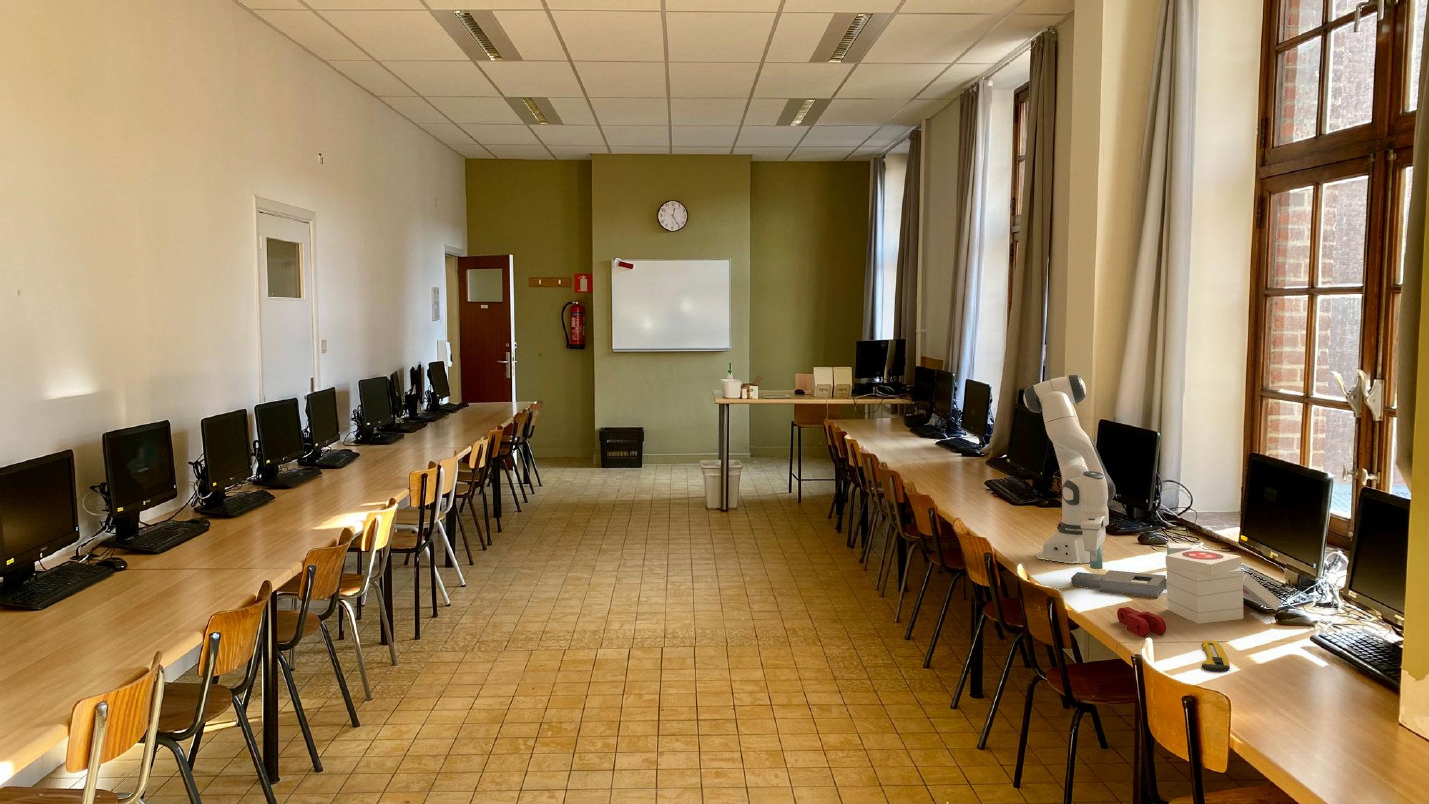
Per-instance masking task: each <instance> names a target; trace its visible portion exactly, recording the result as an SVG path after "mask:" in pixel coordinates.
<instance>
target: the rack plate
mask: <svg viewBox="0 0 1429 804" xmlns="http://www.w3.org/2000/svg"><path fill="white" fill-rule="evenodd" d="M1070 582H1071V587H1075V586H1082V587H1081V588H1084V587H1088V588H1087V589H1094V588H1096V590H1099V592H1101V593H1108V594H1109V593H1110V594H1118V595H1129V596H1138V597H1144V598H1145V597H1146V598H1154V599H1155V598H1156V599H1158V598H1159V597H1160V596H1161V595H1162V593H1164V590H1165V589H1167V574H1166V575H1165V574H1164V575H1163V574H1156V573H1155V574H1154V573H1145V572H1133V571H1122V570H1113V569H1112V570H1111V569H1110V570H1108V571H1107V572H1105V574H1100V573H1091V572H1080V571H1077V572H1076V573H1075V574H1074V575H1072V576H1071V578H1070ZM1097 588H1098V589H1097Z"/></svg>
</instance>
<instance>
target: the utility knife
mask: <svg viewBox="0 0 1429 804" xmlns="http://www.w3.org/2000/svg"><path fill="white" fill-rule="evenodd" d="M1202 650H1203V651H1205V653H1206V656H1207V659H1206V660H1204V661H1203V662H1201V668H1202V670H1204V671H1208V672H1214V673H1215V672H1216V673H1223V672H1224V673H1225V672H1228V671H1229V670H1230V669H1231V665H1230V661H1229V658H1228V656H1227V654H1226V652H1225V650H1224V648H1223V647H1222V645H1221V644H1220V643H1219V641H1215V640H1211V639H1209V640H1208V639H1206V640H1202Z"/></svg>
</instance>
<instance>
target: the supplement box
mask: <svg viewBox="0 0 1429 804" xmlns="http://www.w3.org/2000/svg"><path fill="white" fill-rule="evenodd" d="M1190 549H1194V548H1193V546H1192V545H1190V543H1186V542H1185V543H1178V542H1177V543H1176V542H1175V543H1174V542H1173V543H1172V542H1171V543H1170V542H1169V543H1166V555H1170V554H1174V553H1178V552H1182V551H1186V550H1190Z"/></svg>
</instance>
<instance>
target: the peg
mask: <svg viewBox="0 0 1429 804" xmlns="http://www.w3.org/2000/svg"><path fill="white" fill-rule="evenodd" d="M1089 568H1090V569H1092V570H1102V569H1103V543H1102V544H1101V545H1100V547H1099V548H1098V549H1097V561H1092V560H1091V554H1090V563H1089Z"/></svg>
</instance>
